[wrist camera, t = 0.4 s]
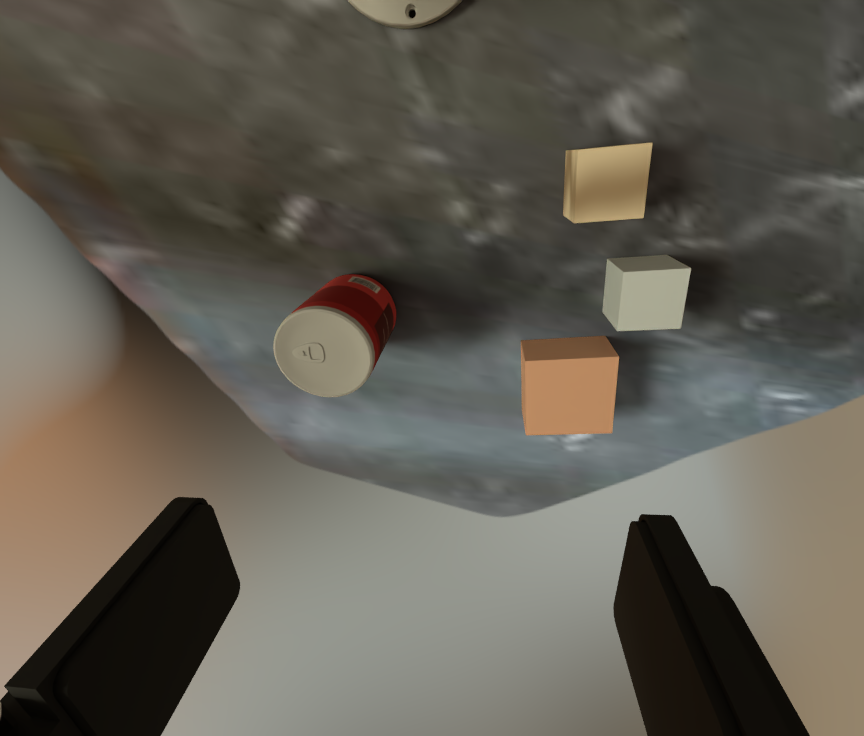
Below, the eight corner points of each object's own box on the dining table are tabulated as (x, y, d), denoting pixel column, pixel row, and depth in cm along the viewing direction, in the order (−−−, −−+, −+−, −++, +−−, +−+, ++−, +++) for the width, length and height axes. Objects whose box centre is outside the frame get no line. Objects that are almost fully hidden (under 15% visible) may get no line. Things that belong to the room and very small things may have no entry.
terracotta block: (520, 339, 43) (525, 361, 38) (604, 334, 42) (619, 356, 37) (521, 408, 46) (525, 435, 42) (599, 405, 45) (612, 433, 41)
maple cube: (565, 150, 35) (578, 149, 30) (630, 144, 34) (652, 142, 30) (563, 215, 37) (574, 223, 33) (623, 210, 36) (643, 218, 32)
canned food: (307, 284, 42) (254, 324, 32) (381, 260, 40) (349, 295, 31) (338, 353, 45) (298, 408, 36) (408, 333, 43) (387, 385, 34)
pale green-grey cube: (607, 258, 38) (623, 272, 34) (666, 254, 38) (691, 268, 33) (602, 311, 41) (617, 331, 36) (658, 308, 40) (680, 328, 35)
